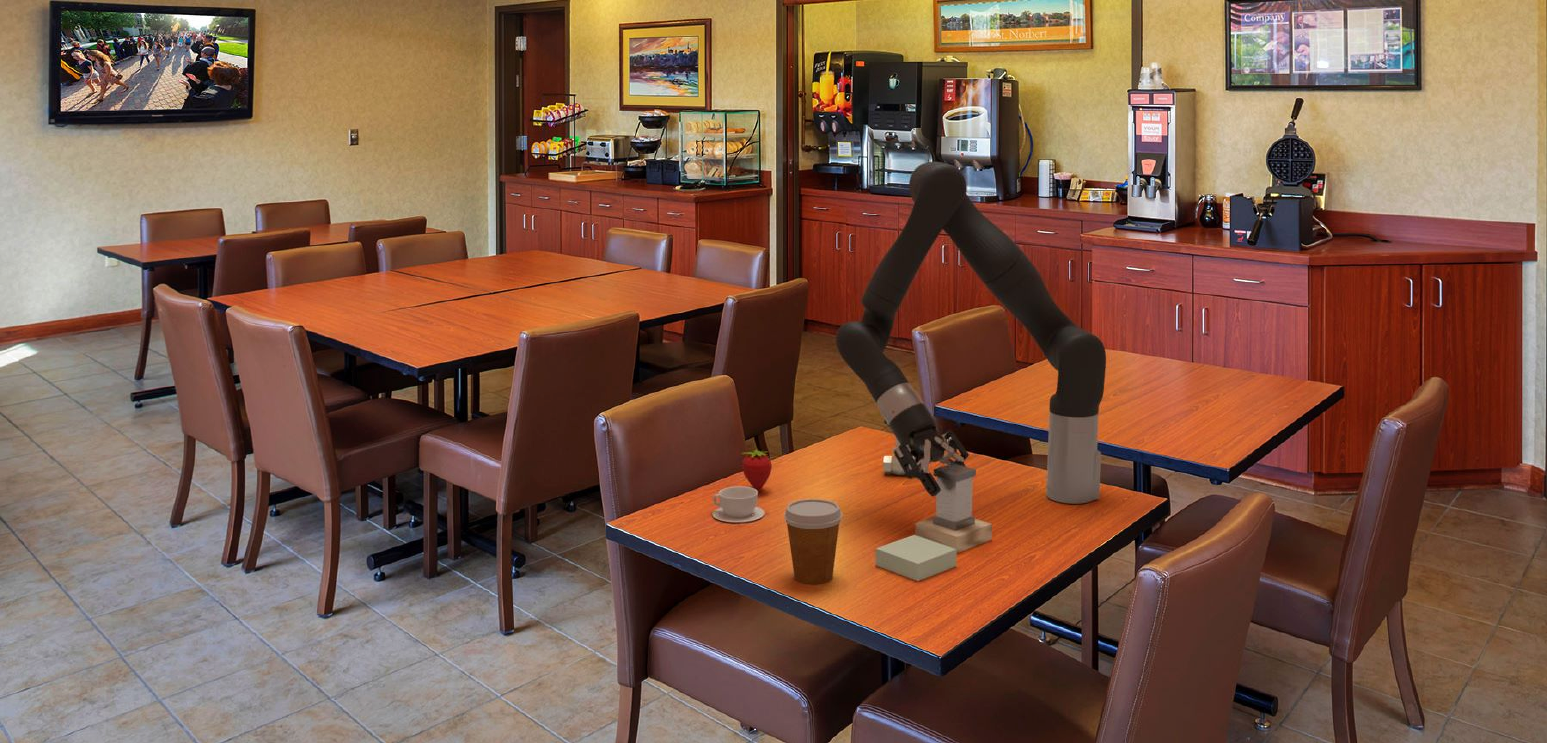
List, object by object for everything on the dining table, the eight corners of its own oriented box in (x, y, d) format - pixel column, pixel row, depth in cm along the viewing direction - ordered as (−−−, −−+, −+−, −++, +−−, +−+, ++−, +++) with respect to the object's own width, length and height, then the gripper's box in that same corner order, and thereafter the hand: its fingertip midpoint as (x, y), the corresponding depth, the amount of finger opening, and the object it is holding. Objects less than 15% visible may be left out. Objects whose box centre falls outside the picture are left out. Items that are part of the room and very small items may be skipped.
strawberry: (746, 498, 236) (744, 449, 234) (739, 487, 243) (738, 439, 241) (775, 496, 237) (774, 447, 235) (768, 484, 244) (767, 437, 242)
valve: (914, 480, 246) (914, 424, 243) (882, 478, 247) (882, 422, 244) (916, 470, 252) (917, 415, 249) (885, 469, 253) (886, 414, 251)
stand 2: (950, 526, 218) (950, 511, 218) (991, 540, 211) (992, 524, 211) (915, 539, 212) (915, 523, 212) (956, 553, 205) (956, 537, 204)
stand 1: (914, 551, 207) (914, 534, 206) (956, 566, 200) (956, 549, 199) (875, 565, 200) (875, 548, 200) (917, 581, 193) (918, 564, 193)
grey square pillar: (952, 516, 215) (953, 463, 212) (974, 523, 211) (976, 469, 209) (932, 523, 211) (933, 469, 209) (955, 530, 207) (956, 475, 205)
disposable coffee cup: (782, 567, 200) (781, 499, 198) (838, 564, 201) (838, 497, 198) (787, 589, 191) (786, 518, 188) (846, 587, 192) (846, 516, 189)
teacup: (771, 509, 230) (771, 486, 229) (754, 527, 220) (754, 502, 219) (723, 505, 233) (722, 482, 232) (704, 522, 223) (703, 498, 222)
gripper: (889, 408, 209) (937, 486, 203) (943, 395, 218) (991, 469, 212) (867, 432, 214) (914, 508, 208) (921, 418, 223) (967, 491, 217)
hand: (953, 488), depth 210 cm, fingers open, 8 cm apart
